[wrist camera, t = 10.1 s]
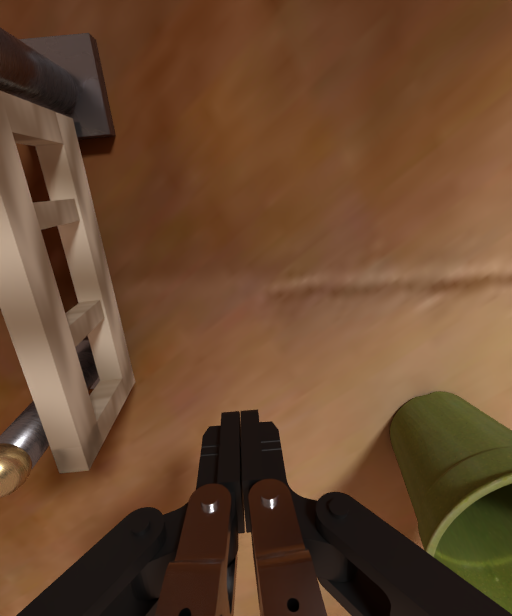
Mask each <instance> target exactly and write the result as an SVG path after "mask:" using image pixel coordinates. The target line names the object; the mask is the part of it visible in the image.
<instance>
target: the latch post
mask: <svg viewBox="0 0 512 616" xmlns="http://www.w3.org/2000/svg"><path fill="white" fill-rule="evenodd" d="M75 349H76V352H77V355H78V359H79V362H80V366H81V369H82V372H83V376H84V379H85V383H86V386H87V389H88V391H89V390H90V389H95V387H96V386H97V384H98V383H99V381H100V379H99V375H98V371H97V368H96V364H95V361H94V357H93V353H92V350H91V346H90V343H89V339H88V335H87V336H86V337H85V338H84V339H83V340H82V341H81V342H80V343H79V344H78V345H77V346H76V347H75ZM48 446H49V442H48V440H47V437H46V434H45V431H44V428H43V426H42V423H41V420H40V417H39V414H38V412H37V409H36V406H35V403H34V401H33V402H32V403H31V404H30V405H29V406H28V407H27V408H26V409H25V410H24V411H23V412H22V413H21V414H20V415H19V417H18V418H17V419H16V420H15V421H14V422H13V423H12V424H11V425H10V426H9V427H8V428H7V429H6V430H5V431H4V432H3V433H2V435H1V436H0V498H1V497H4V496H7V495H10V494H11V493H13V492H15V491H16V490H18V489H19V488H20V487H21V486H22V485H23V484H24V483H25V482H26V480H27V479H28V477H29V475H30V473H31V470H32V468H33V467H34V466H35V464H36V463H37V461H38V460H39V459H40V457H41V456H42V455H43V453H44V452H45V450H46V449H47V448H48Z"/></svg>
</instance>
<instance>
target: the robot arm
mask: <svg viewBox="0 0 512 616" xmlns="http://www.w3.org/2000/svg"><path fill="white" fill-rule="evenodd" d="M244 510H245V521H246V532H247V533H248V532H251V535H252V546H253V558H254V567H255V575H256V584H257V592H258V600H259V609H260V616H327V613H326V610H325V606H324V602H323V599H322V595H321V591H320V588H319V584H318V580H319V582H320V584H321V585H322V586H323V587H324V588H325V589H326V590H327V591H328V592H329V593H330V594H331V595H332V596H333V597H334V598H335V599H336V600H337V601H338V602H339V603H340V604H341V605H342V606H343V607H344V608H345V609H346V610H347V611H348V612H349V613H350V614H351V615H352V616H512V614H511V613H510V612H508V611H507V610H506V609H504V608H503V607H501V606H500V605H499V604H497V603H496V602H495V601H493V600H492V599H490V598H489V597H488V596H486V595H485V594H484V593H482V592H481V591H479V590H478V589H477V588H475V587H474V586H473V585H471V584H470V583H468V582H467V581H466V580H464V579H463V578H462V577H460V576H459V575H457V574H456V573H455V572H453V571H452V570H451V569H449V568H448V567H446V566H445V565H444V564H442V563H441V562H440V561H438V560H437V559H436V558H434V557H433V556H431V555H430V554H429V553H427V552H426V551H425V550H423V549H422V548H420V547H419V546H418V545H416V544H415V543H414V542H412V541H411V540H409V539H408V538H407V537H405V536H404V535H403V534H401V533H400V532H398V531H397V530H396V529H394V528H393V527H392V526H390V525H389V524H387V523H386V522H385V521H383V520H382V519H381V518H379V517H378V516H377V515H375V514H374V513H372V512H371V511H370V510H368V509H367V508H366V507H364V506H363V505H361V504H360V503H359V502H357V501H356V500H355V499H353V498H352V497H350V496H349V495H346V494H344V493H340V492H330V493H327V494H325V495H323V496H322V497H321V498H320V499H319V500H318V501H316V500H311V499H307V498H303V497H301V496H299V495H297V494H296V493H295V492H293V491H292V490H291V488H290V487H289V485H288V483H287V479H286V473H285V467H284V461H283V455H282V450H281V443H280V437H279V431H278V429H277V427H276V426H275V425H274V424H273V422H272V421H271V422H259V415H258V410H248V411H241V424H240V413H239V411H236V412H223V413H222V415H221V426H210V427H209V428H208V429H207V431H206V432H205V434H204V435H203V440H202V448H201V457H200V463H199V471H198V478H197V486H196V491H194V492H193V494H192V495H191V497H190V499H189V502H188V503H187V504H185V505H184V506H183V507H181V508H179V509H177V510H175V511H172V512H170V513H167V514H164V515H162V513H161V512H160V511H159V510H157V509H155V508H152V507H145V508H140V509H137V510H135V511H133V512H132V513H130V514H129V515H128V516H126V517H125V518H124V519H123V520H122V521H121V522H120V523H119V524H118V525H116V526H115V527H114V528H113V529H112V530H111V531H110V532H109V533H108V534H106V535H105V536H104V537H103V538H102V539H101V540H100V541H99V542H98V543H96V544H95V545H94V546H93V547H92V548H91V549H90V550H89V551H88V552H86V553H85V554H84V555H83V556H82V557H81V558H80V559H79V560H78V561H76V562H75V563H74V564H73V565H72V566H71V567H70V568H69V569H68V570H66V571H65V572H64V573H63V574H62V575H61V576H60V577H59V578H58V579H56V580H55V581H54V582H53V583H52V584H51V585H50V586H49V587H48V588H46V589H45V590H44V591H43V592H42V593H41V594H40V595H39V596H38V597H36V598H35V599H34V600H33V601H32V602H31V603H30V604H29V605H28V606H26V607H25V608H24V609H23V610H22V611H21V612H20V613H19V614H18V615H16V616H233V615H234V601H235V587H236V572H237V551H238V533H245V527H244ZM317 578H318V580H317Z"/></svg>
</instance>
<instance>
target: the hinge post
mask: <svg viewBox="0 0 512 616" xmlns="http://www.w3.org/2000/svg"><path fill="white" fill-rule="evenodd" d="M0 91H3V92H5V93H8V94H10V95H13V96H16V97H18V98H21V99H23V100H26V101H29V102H31V103H34V104H36V105H39V106H42V107H44V108H47V109H49V110H52V111H55V112H57V113H60V114H62V115H65V116H67V117H70V118H73V122H74V126H75V130H76V134H77V139H78V140H81V139H91V138H102V137H112V136H116V135H115V131H114V126H113V121H112V116H111V111H110V106H109V102H108V97H107V92H106V87H105V82H104V77H103V72H102V68H101V63H100V58H99V53H98V48H97V43H96V40H95V39H94V38H93V37H92V36H91V35H90V34H89V33H84V34H73V35H63V36H52V37H41V38H30V39H20V40H19V39H17V38H15V37H14V36H12V35H11V34H9V33H8V32H6V31H5V30H3V29H2V28H0Z"/></svg>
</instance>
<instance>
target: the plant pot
mask: <svg viewBox="0 0 512 616" xmlns="http://www.w3.org/2000/svg"><path fill="white" fill-rule="evenodd" d="M390 439H391V444H392V447H393V450H394V453H395V456H396V458H397V461H398V464H399V467H400V470H401V473H402V476H403V479H404V482H405V485H406V488H407V491H408V494H409V496H410V499H411V502H412V505H413V508H414V511H415V514H416V517H417V520H418V530H419V535H420V538H421V541H422V544H423V547H424V550H425V551H426V552H427V553H429V554H430V555H431V556H433V557H434V558H436V559H437V560H438V561H440V562H441V563H442V564H444V565H445V566H446V567H448V568H449V569H451V570H452V571H453V572H455V573H456V574H457V575H459V576H460V577H462V578H463V579H464V580H466V581H467V582H468V583H470V584H471V585H473V586H474V587H475V588H477V589H478V590H479V591H481V592H482V593H484V594H485V595H486V596H488V597H489V598H490V599H492V600H493V601H495V602H496V603H497V604H499V605H500V606H501V607H503V608H504V609H506V610H507V611H508V612H510V613H511V614H512V431H511V430H510V429H508V428H507V427H505V426H504V425H502V424H501V423H499V422H497V421H496V420H494V419H493V418H491V417H490V416H488V415H487V414H485V413H483V412H482V411H480V410H479V409H477V408H476V407H474V406H473V405H471V404H470V403H468V402H467V401H465V400H464V399H462V398H461V397H459V396H457V395H454V394H451V393H448V392H433V393H431V394H428V395H424V396H419V397H415V398H413V399H411V400H410V401H408V402H407V403H406V404H404V405H403V406H402V407H401V408H400V409H399V411H398V412H397V413H396V415H395V416H394V418H393V420H392V423H391V426H390Z"/></svg>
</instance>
